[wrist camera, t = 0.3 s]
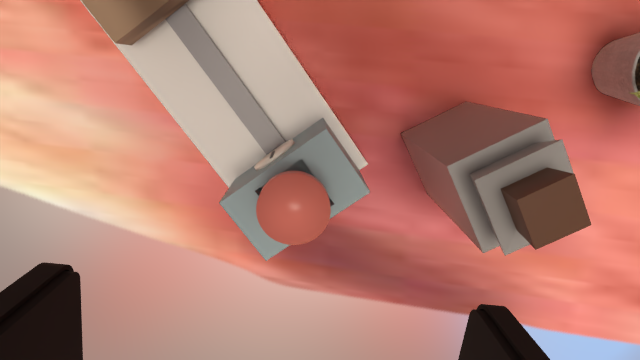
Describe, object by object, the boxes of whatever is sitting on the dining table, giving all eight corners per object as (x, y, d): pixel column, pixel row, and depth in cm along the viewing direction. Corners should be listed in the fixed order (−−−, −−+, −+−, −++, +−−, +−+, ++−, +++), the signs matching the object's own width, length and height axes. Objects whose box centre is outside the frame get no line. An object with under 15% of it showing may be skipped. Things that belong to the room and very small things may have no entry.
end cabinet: (320, 113, 37) (323, 124, 30) (359, 170, 38) (370, 192, 31) (232, 175, 38) (215, 198, 31) (273, 227, 39) (266, 260, 33)
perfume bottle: (400, 133, 39) (474, 186, 22) (466, 101, 38) (597, 129, 21) (427, 193, 41) (516, 287, 23) (490, 164, 40) (630, 237, 23)
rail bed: (170, -128, 33) (148, -158, 28) (365, 160, 39) (373, 172, 35) (59, -35, 34) (23, -50, 30) (266, 227, 41) (261, 246, 37)
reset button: (303, 151, 30) (302, 160, 28) (341, 205, 32) (345, 218, 29) (247, 189, 31) (241, 202, 28) (287, 241, 32) (285, 258, 29)
